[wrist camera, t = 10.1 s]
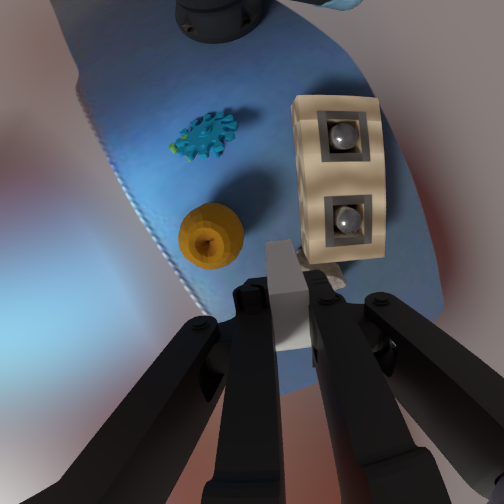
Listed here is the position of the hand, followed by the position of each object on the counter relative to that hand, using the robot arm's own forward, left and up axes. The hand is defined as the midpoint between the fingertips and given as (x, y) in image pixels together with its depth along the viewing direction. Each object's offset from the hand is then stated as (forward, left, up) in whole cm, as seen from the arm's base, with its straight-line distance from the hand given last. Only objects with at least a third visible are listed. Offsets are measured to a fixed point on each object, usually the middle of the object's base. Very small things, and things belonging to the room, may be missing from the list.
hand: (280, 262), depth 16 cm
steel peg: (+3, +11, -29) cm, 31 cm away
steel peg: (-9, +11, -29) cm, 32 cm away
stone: (+13, +7, -30) cm, 33 cm away
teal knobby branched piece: (-11, -9, -30) cm, 33 cm away
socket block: (-3, +11, -29) cm, 32 cm away
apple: (+4, -9, -30) cm, 31 cm away
